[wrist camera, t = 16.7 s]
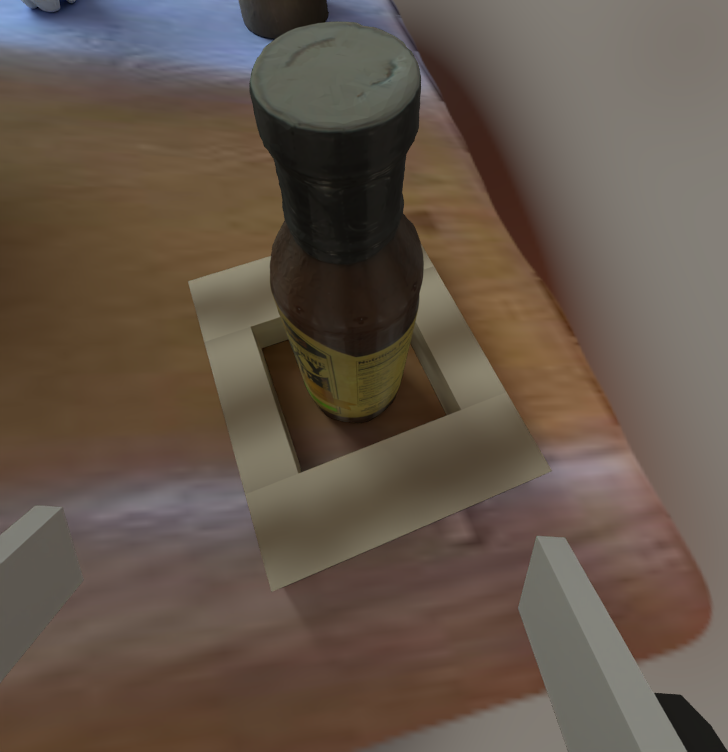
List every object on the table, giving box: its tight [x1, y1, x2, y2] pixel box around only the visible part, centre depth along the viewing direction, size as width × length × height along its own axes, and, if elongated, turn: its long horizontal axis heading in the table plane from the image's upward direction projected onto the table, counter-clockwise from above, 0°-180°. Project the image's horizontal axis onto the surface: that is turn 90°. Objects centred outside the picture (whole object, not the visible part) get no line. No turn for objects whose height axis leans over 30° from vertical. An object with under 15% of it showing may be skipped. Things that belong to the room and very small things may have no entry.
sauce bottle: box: [250, 22, 424, 423], centre depth 18 cm, size 6×6×20 cm
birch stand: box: [188, 245, 552, 592], centre depth 26 cm, size 20×16×3 cm
